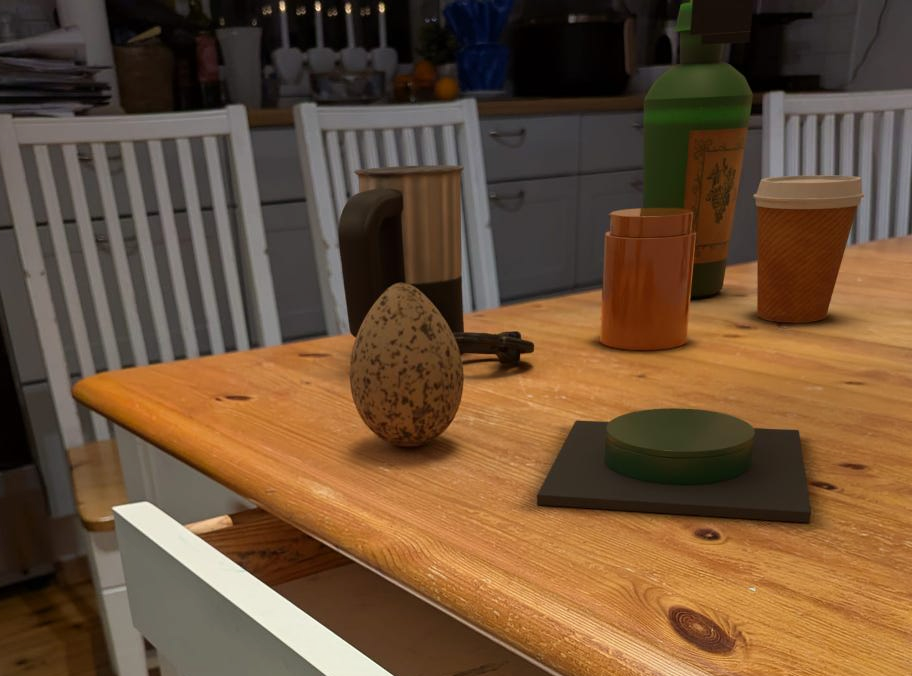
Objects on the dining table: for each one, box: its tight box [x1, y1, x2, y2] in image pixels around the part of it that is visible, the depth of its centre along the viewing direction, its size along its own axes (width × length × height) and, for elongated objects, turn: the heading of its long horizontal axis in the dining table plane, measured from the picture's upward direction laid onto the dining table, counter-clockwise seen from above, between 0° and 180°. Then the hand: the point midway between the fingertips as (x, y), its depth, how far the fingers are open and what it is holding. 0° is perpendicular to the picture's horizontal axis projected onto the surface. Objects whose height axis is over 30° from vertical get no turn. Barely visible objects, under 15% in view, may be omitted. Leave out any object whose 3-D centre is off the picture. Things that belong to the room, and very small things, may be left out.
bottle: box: [642, 0, 754, 300], centre depth 98 cm, size 11×11×28 cm
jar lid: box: [605, 407, 755, 485], centre depth 55 cm, size 8×8×2 cm
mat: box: [536, 419, 812, 524], centre depth 56 cm, size 14×14×1 cm
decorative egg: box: [349, 282, 465, 448], centre depth 60 cm, size 7×7×10 cm
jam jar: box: [599, 207, 696, 351], centre depth 83 cm, size 8×8×11 cm
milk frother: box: [337, 164, 535, 365], centre depth 80 cm, size 14×16×15 cm
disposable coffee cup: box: [753, 174, 866, 324], centre depth 89 cm, size 10×10×12 cm
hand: (722, 40), depth 50 cm, fingers open, 13 cm apart
